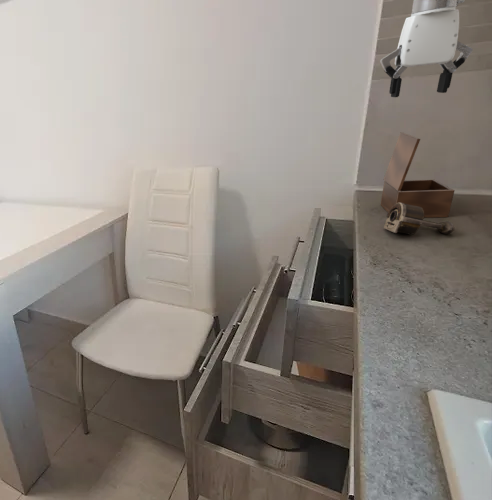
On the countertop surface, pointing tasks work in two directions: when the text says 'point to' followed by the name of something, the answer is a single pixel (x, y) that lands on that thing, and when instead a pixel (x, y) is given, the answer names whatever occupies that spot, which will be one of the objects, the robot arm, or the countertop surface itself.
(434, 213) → the keepsake box
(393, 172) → the lid
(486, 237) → the countertop surface
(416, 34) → the robot arm
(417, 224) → the security camera
